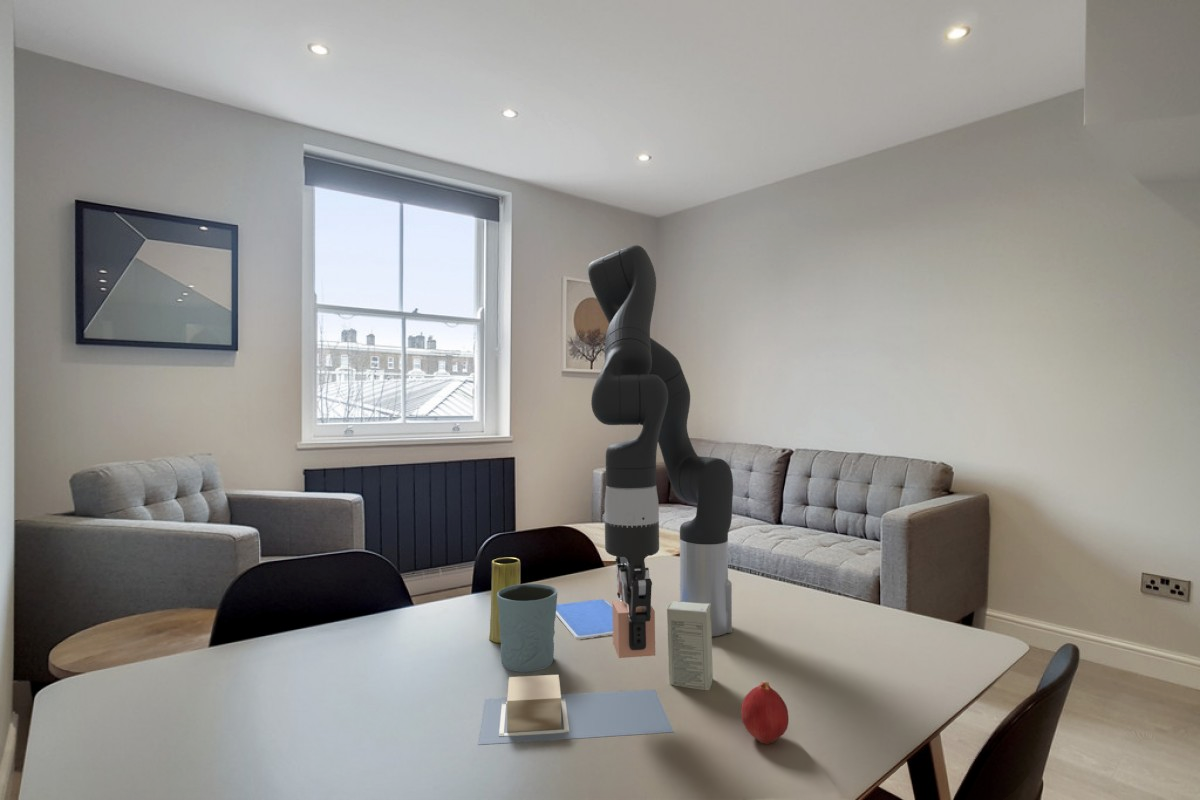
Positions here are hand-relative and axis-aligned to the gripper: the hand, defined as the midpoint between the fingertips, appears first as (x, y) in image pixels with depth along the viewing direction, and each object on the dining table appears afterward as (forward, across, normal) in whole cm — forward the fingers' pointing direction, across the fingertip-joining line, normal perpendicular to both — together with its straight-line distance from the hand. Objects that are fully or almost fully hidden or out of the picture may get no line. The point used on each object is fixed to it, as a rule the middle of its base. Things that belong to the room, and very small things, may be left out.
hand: (633, 640), depth 83 cm
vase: (+11, +31, +18) cm, 38 cm away
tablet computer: (+11, +39, +1) cm, 41 cm away
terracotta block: (+1, 0, 0) cm, 1 cm away
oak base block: (+10, 0, +14) cm, 17 cm away
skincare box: (+11, +8, -10) cm, 17 cm away
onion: (+11, -9, -15) cm, 21 cm away
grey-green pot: (+11, +19, +14) cm, 26 cm away
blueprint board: (+10, 0, +8) cm, 13 cm away
